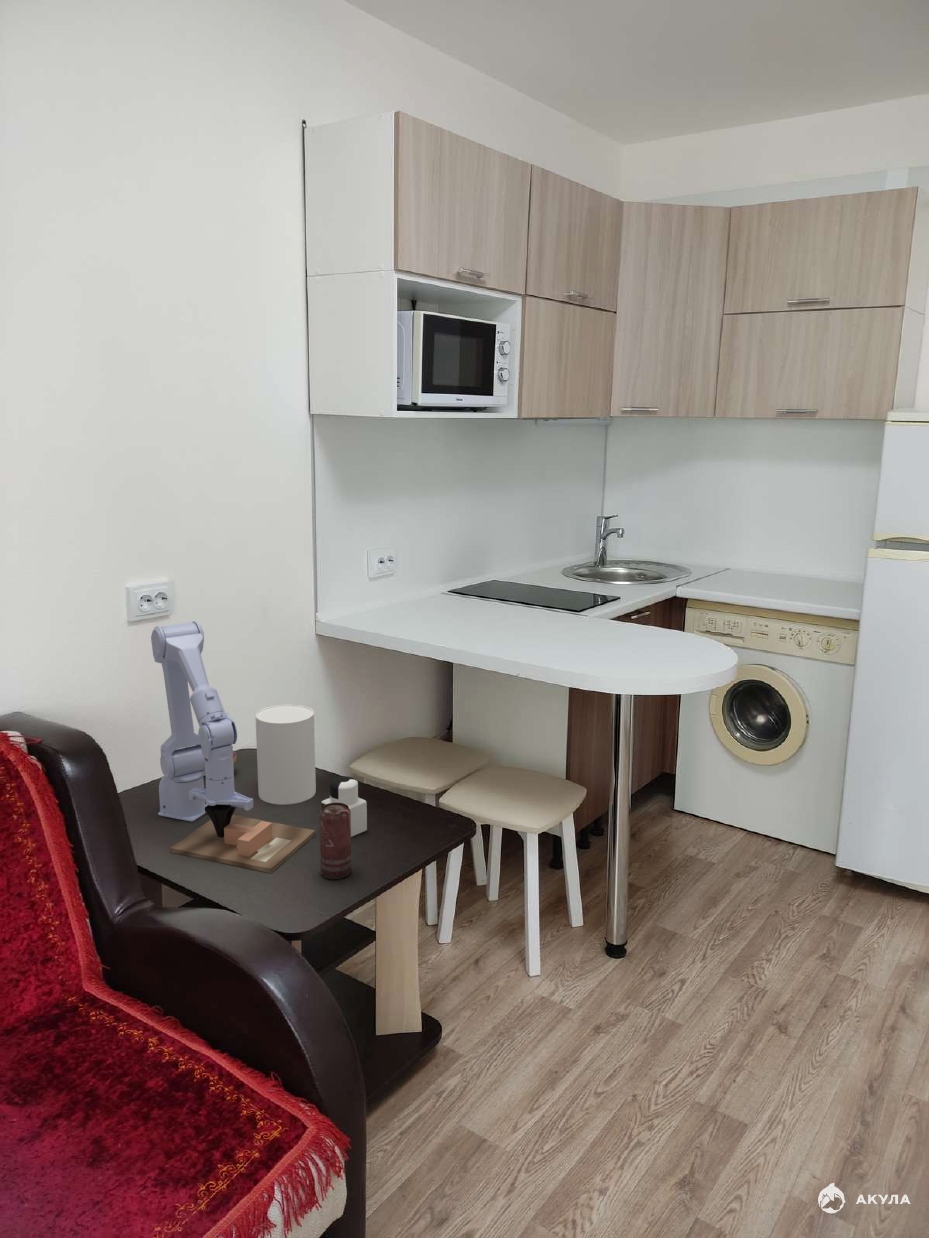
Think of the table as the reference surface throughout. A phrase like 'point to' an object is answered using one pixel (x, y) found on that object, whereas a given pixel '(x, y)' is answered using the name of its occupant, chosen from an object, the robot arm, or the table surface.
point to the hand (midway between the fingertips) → (222, 835)
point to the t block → (248, 837)
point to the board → (215, 848)
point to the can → (335, 840)
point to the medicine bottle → (349, 802)
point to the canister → (285, 754)
